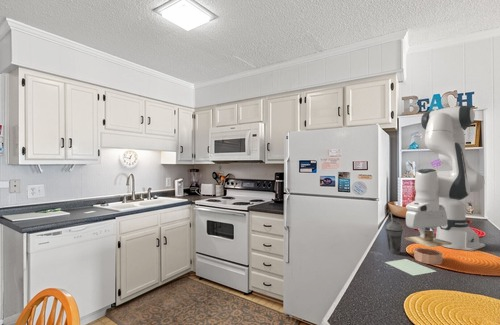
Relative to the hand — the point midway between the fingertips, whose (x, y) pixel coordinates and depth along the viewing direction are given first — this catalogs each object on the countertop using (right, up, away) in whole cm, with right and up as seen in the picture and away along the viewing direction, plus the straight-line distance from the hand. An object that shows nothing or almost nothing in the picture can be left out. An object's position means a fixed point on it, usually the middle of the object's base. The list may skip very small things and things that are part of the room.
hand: (427, 237), depth 113 cm
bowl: (0, -11, 0) cm, 11 cm away
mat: (-12, -11, -7) cm, 18 cm away
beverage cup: (-9, -11, +10) cm, 17 cm away
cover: (0, -2, 0) cm, 2 cm away
